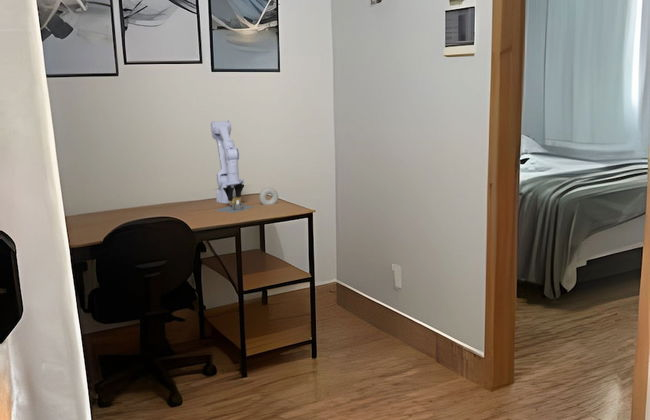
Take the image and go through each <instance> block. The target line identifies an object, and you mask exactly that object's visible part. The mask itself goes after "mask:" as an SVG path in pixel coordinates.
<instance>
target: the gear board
mask: <svg viewBox="0 0 650 420" xmlns="http://www.w3.org/2000/svg"><path fill="white" fill-rule="evenodd" d="M236 204H239V200H237V201H236ZM243 206H244V209H243V210H238V211H237V210H233V208H232V205H229V206H226V207H225V206H224V207H222V208H218V209H214V212H221V213H222V212H225V213H232V214H235V213H238V212H243V211H246V210H249V209H252V208H255V206H253V205H244V204H243Z"/></svg>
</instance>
